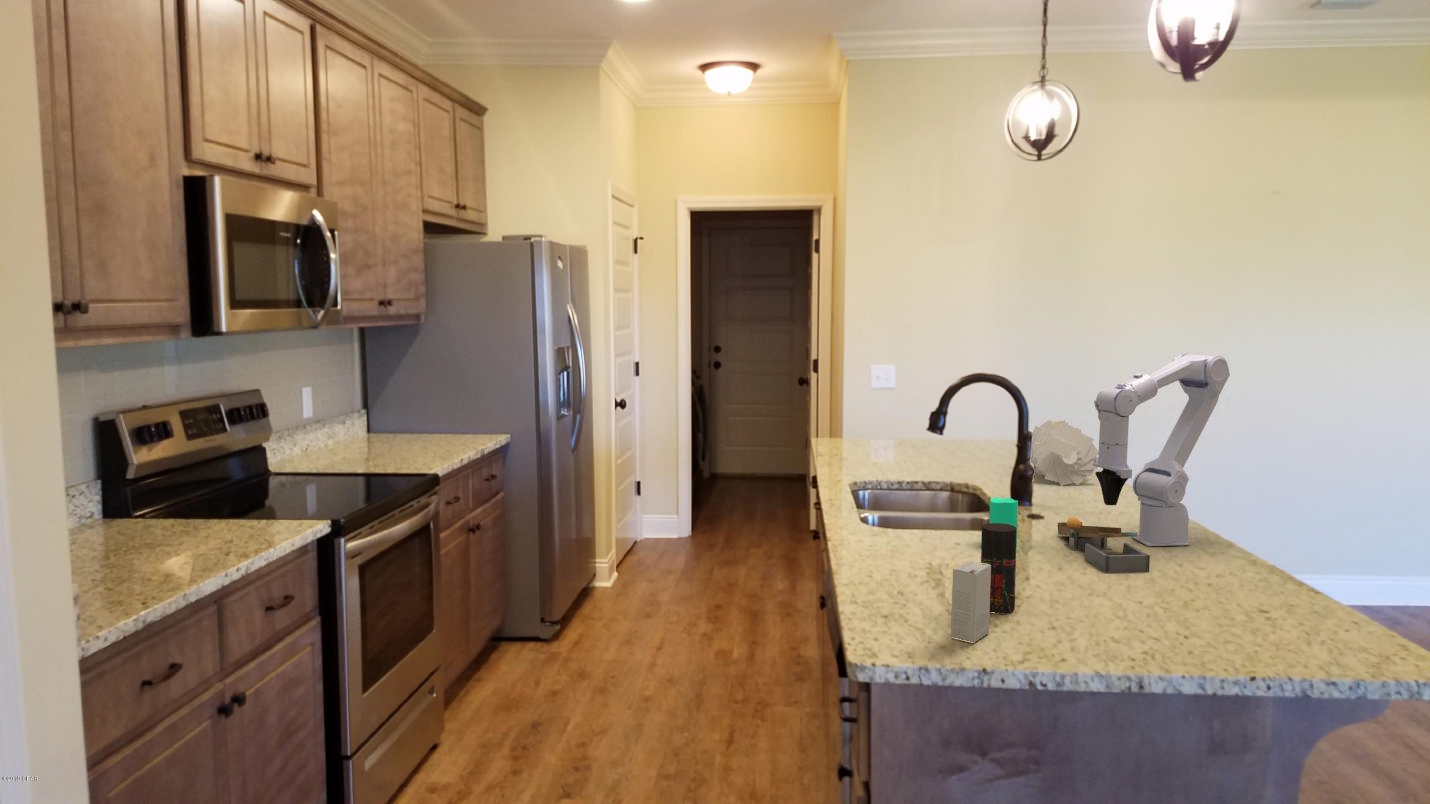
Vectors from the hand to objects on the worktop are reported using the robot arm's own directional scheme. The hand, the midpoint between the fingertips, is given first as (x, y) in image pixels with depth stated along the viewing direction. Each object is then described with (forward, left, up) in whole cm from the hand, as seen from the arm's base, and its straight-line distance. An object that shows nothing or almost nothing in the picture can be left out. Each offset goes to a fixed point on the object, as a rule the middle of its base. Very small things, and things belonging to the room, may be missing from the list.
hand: (1110, 504), depth 197 cm
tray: (+4, +12, -10) cm, 16 cm away
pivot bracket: (+4, -2, -10) cm, 11 cm away
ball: (+4, -9, -7) cm, 12 cm away
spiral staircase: (-19, -74, -10) cm, 77 cm away
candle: (+22, -5, -10) cm, 25 cm away
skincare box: (+46, +48, -10) cm, 68 cm away
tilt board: (+2, -1, -7) cm, 8 cm away
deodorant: (+37, +35, -10) cm, 52 cm away
